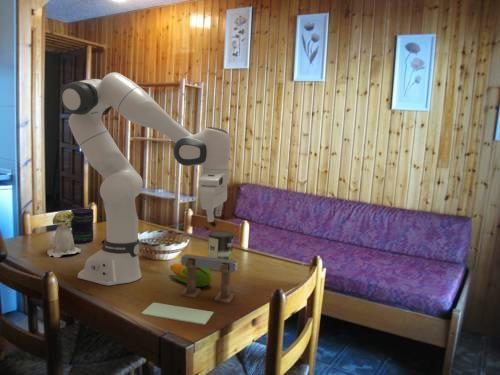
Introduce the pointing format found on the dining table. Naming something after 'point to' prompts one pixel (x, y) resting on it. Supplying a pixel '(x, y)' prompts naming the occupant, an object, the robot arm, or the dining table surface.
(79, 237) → the storage jar
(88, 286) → the dining table surface
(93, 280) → the robot arm
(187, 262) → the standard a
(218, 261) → the rail
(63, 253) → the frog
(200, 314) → the mat
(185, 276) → the corn
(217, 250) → the coffee can
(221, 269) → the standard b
